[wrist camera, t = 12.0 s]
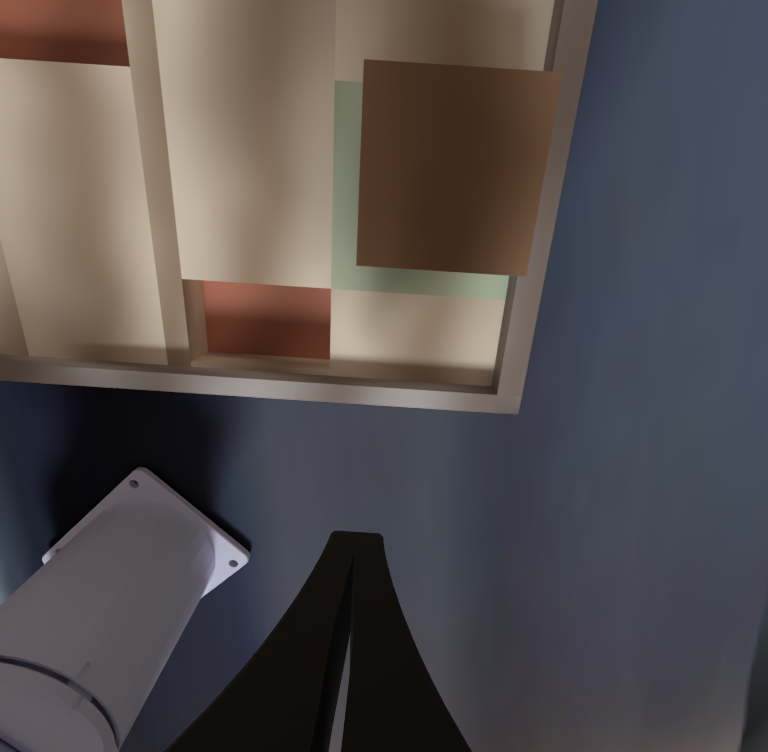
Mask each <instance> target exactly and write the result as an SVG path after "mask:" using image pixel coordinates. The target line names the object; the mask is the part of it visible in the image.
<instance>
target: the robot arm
mask: <svg viewBox="0 0 768 752" xmlns="http://www.w3.org/2000/svg"><path fill="white" fill-rule="evenodd" d="M134 480H135V481H137V482H138V484H137V483H135V482H134ZM249 558H250V553H249V552H248V550H246V549H245V548H244V547H243V546H242V545H240V544H239V543H238V542H237V541H235V540H234V539H233V538H232V537H231V536H229V535H228V534H227V533H226V532H224V531H223V530H222V529H221V528H220V527H218V526H217V525H216V524H215V523H213V522H212V521H211V520H210V519H209V518H207V517H206V516H205V515H204V514H202V513H201V512H200V511H199V510H198V509H196V508H195V507H194V506H193V505H191V504H190V503H189V502H188V501H186V500H185V499H184V498H183V497H182V496H180V495H179V494H178V493H177V492H175V491H174V490H173V489H172V488H171V487H169V486H168V485H167V484H166V483H164V482H163V481H162V480H161V479H160V478H158V477H157V476H156V475H155V474H153V473H152V472H151V471H150V470H148V469H147V468H144V467H138V468H137V469H135V470H134V471H133V472H132V473H131V474H130V475H129V476H128V477H126V478H125V479H124V480H123V481H122V482H121V483H120V484H119V485H118V486H117V487H116V488H115V489H114V490H113V491H112V492H111V493H109V494H108V495H107V496H106V497H105V498H104V499H103V500H102V501H101V502H100V503H99V504H98V505H97V506H96V507H95V508H93V509H92V510H91V511H90V512H89V513H88V514H87V515H86V516H85V517H84V518H83V519H82V520H81V521H80V522H79V523H78V524H76V525H75V526H74V527H73V528H72V529H71V530H70V531H69V532H68V533H67V534H66V535H65V536H64V537H63V538H62V539H60V540H59V541H58V542H57V543H56V544H55V545H54V546H53V547H52V548H51V549H50V550H49V551H48V552H47V553H46V554H45V555H43V557H42V561H43V563H44V565H43V566H42V567H41V568H40V569H39V570H38V571H37V572H36V573H35V574H34V575H33V576H31V577H30V578H29V579H28V580H27V581H26V582H25V583H24V584H23V585H22V586H21V587H20V588H19V589H17V590H16V591H15V592H14V593H13V594H12V595H11V596H10V597H9V598H8V599H7V600H6V601H5V602H3V603H2V604H1V605H0V752H119V749H120V747H121V746H122V744H123V742H124V740H125V738H126V736H127V734H128V733H129V731H130V729H131V727H132V725H133V723H134V721H135V719H136V718H137V716H138V714H139V712H140V710H141V708H142V706H143V705H144V703H145V701H146V699H147V697H148V695H149V693H150V692H151V690H152V688H153V686H154V684H155V682H156V680H157V679H158V677H159V675H160V673H161V671H162V669H163V667H164V666H165V664H166V662H167V660H168V658H169V656H170V654H171V652H172V651H173V649H174V647H175V645H176V643H177V641H178V639H179V638H180V636H181V634H182V632H183V630H184V628H185V626H186V625H187V623H188V621H189V619H190V617H191V615H192V613H193V612H194V610H195V608H196V606H197V604H198V602H199V600H200V598H202V597H203V596H204V595H206V594H207V593H208V592H210V591H211V590H212V589H214V588H215V587H216V586H218V585H219V584H220V583H222V582H223V581H224V580H225V579H227V578H228V577H229V576H231V575H232V574H233V573H235V572H236V571H237V570H239V569H240V568H241V567H243V566H244V565H245V564H246V563H247V562H248V560H249ZM233 560H235V561H237V562H235V561H233ZM350 630H351V632H350ZM349 635H350V676H349V685H348V694H347V704H346V713H345V722H344V731H343V739H342V748H341V752H472V751H471V749H470V748H469V746H468V744H467V743H466V741H465V739H464V737H463V736H462V734H461V732H460V730H459V729H458V727H457V725H456V723H455V722H454V720H453V718H452V717H451V715H450V713H449V711H448V710H447V708H446V706H445V704H444V702H443V700H442V698H441V696H440V695H439V693H438V691H437V689H436V687H435V685H434V683H433V681H432V679H431V677H430V675H429V673H428V671H427V669H426V667H425V664H424V662H423V660H422V658H421V656H420V654H419V651H418V649H417V647H416V645H415V642H414V640H413V638H412V635H411V633H410V630H409V628H408V625H407V623H406V620H405V618H404V615H403V612H402V610H401V607H400V604H399V601H398V598H397V595H396V592H395V589H394V586H393V583H392V579H391V576H390V572H389V568H388V564H387V560H386V556H385V550H384V543H383V537H382V536H381V535H380V534H379V533H364V532H348V531H334V532H333V533H331V535H330V537H329V540H328V542H327V544H326V546H325V549H324V551H323V553H322V555H321V556H320V558H319V560H318V562H317V564H316V566H315V567H314V569H313V571H312V572H311V574H310V576H309V577H308V579H307V581H306V582H305V584H304V585H303V587H302V589H301V590H300V592H299V594H298V595H297V597H296V598H295V600H294V601H293V603H292V604H291V605H290V607H289V608H288V610H287V611H286V613H285V614H284V615H283V617H282V618H281V620H280V621H279V623H278V624H277V625H276V627H275V628H274V630H273V631H272V632H271V633H270V635H269V636H268V637H267V639H266V640H265V641H264V643H263V644H262V645H261V646H260V648H259V649H258V650H257V651H256V653H255V654H254V655H253V656H252V658H251V659H250V660H249V661H248V663H247V664H246V665H245V666H244V667H243V668H242V670H241V671H240V672H239V673H238V674H237V675H236V676H235V678H234V679H233V680H232V681H231V682H230V683H229V684H228V686H227V687H226V688H225V689H224V690H223V691H222V692H221V694H220V695H219V696H218V697H217V698H216V699H215V700H214V701H213V702H212V703H211V704H210V705H209V707H208V708H207V709H206V710H205V711H204V712H203V713H202V714H201V715H200V716H199V717H198V718H197V719H196V720H195V721H194V722H193V723H192V724H191V725H190V726H189V727H188V728H187V729H186V730H185V731H184V732H183V733H182V734H181V735H180V736H179V737H178V738H177V739H176V740H175V741H174V742H173V743H172V744H171V745H170V746H169V747H168V748H167V749H166V750H165V751H164V752H329V745H330V739H331V732H332V726H333V721H334V716H335V710H336V705H337V700H338V694H339V689H340V684H341V678H342V673H343V668H344V662H345V657H346V652H347V646H348V641H349Z"/></svg>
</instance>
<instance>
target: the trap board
mask: <svg viewBox="0 0 768 752" xmlns="http://www.w3.org/2000/svg"><path fill="white" fill-rule="evenodd" d="M597 4H598V0H0V381H15V382H31V383H46V384H61V385H76V386H92V387H107V388H122V389H137V390H153V391H168V392H183V393H198V394H214V395H229V396H244V397H259V398H275V399H290V400H305V401H321V402H336V403H351V404H366V405H382V406H397V407H412V408H427V409H443V410H458V411H473V412H488V413H504V414H518V413H519V408H520V402H521V397H522V392H523V387H524V382H525V377H526V371H527V366H528V361H529V356H530V351H531V346H532V340H533V335H534V330H535V325H536V320H537V314H538V309H539V304H540V299H541V294H542V289H543V283H544V278H545V273H546V268H547V263H548V258H549V252H550V247H551V242H552V237H553V232H554V227H555V221H556V216H557V211H558V206H559V201H560V196H561V190H562V185H563V180H564V175H565V170H566V165H567V159H568V154H569V149H570V144H571V139H572V134H573V128H574V123H575V118H576V113H577V108H578V103H579V97H580V92H581V87H582V82H583V77H584V72H585V66H586V61H587V56H588V51H589V46H590V41H591V35H592V30H593V25H594V20H595V15H596V10H597ZM364 59H369V60H384V61H399V62H414V63H429V64H445V65H460V66H475V67H490V68H505V69H520V70H536V71H551V72H563V73H562V79H561V85H560V90H559V96H558V101H557V107H556V113H555V118H554V124H553V130H552V135H551V141H550V146H549V152H548V158H547V163H546V169H545V174H544V180H543V186H542V191H541V197H540V203H539V208H538V214H537V219H536V225H535V231H534V236H533V242H532V248H531V253H530V259H529V264H528V270H527V276H526V277H521V276H506V275H491V274H475V273H460V272H445V271H430V270H414V269H399V268H384V267H369V266H356V257H357V230H358V203H359V176H360V149H361V122H362V94H363V67H364Z"/></svg>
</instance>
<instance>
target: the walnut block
mask: <svg viewBox="0 0 768 752" xmlns="http://www.w3.org/2000/svg"><path fill="white" fill-rule="evenodd" d="M562 73H563V72H551V71H536V70H520V69H505V68H490V67H475V66H460V65H445V64H429V63H414V62H399V61H384V60H369V59H364V67H363V94H362V122H361V149H360V176H359V203H358V230H357V257H356V266H369V267H384V268H399V269H414V270H430V271H445V272H460V273H475V274H491V275H506V276H521V277H526V276H527V270H528V264H529V259H530V253H531V248H532V242H533V236H534V231H535V225H536V219H537V214H538V208H539V203H540V197H541V191H542V186H543V180H544V174H545V169H546V163H547V158H548V152H549V146H550V141H551V135H552V130H553V124H554V118H555V113H556V107H557V101H558V96H559V90H560V85H561V79H562Z"/></svg>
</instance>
